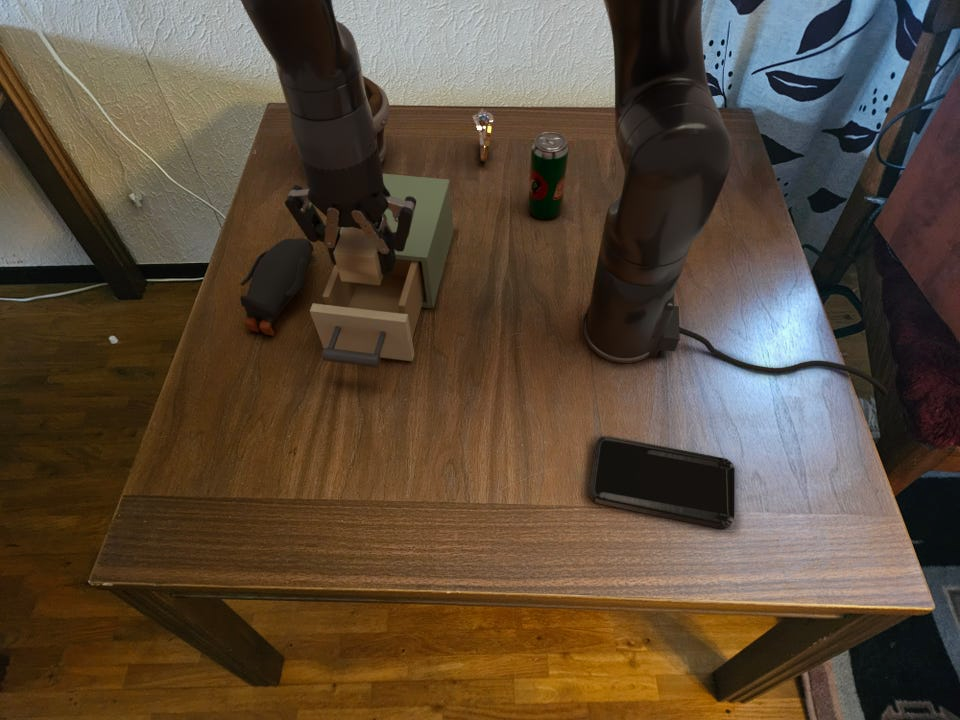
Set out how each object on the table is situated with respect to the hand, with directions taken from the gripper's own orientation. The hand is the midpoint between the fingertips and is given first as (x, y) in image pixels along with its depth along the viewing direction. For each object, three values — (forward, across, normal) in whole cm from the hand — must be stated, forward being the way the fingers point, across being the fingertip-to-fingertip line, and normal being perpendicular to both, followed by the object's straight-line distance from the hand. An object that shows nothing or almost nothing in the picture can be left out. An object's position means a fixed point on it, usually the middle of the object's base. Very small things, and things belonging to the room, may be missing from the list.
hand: (365, 266), depth 74 cm
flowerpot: (+11, -13, +32) cm, 37 cm away
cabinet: (+11, 0, +11) cm, 16 cm away
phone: (+11, +36, -17) cm, 41 cm away
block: (0, 0, 0) cm, 0 cm away
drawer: (+10, 0, -1) cm, 10 cm away
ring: (+11, +8, +36) cm, 39 cm away
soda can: (+11, +19, +25) cm, 34 cm away
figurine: (+11, -14, +4) cm, 18 cm away
